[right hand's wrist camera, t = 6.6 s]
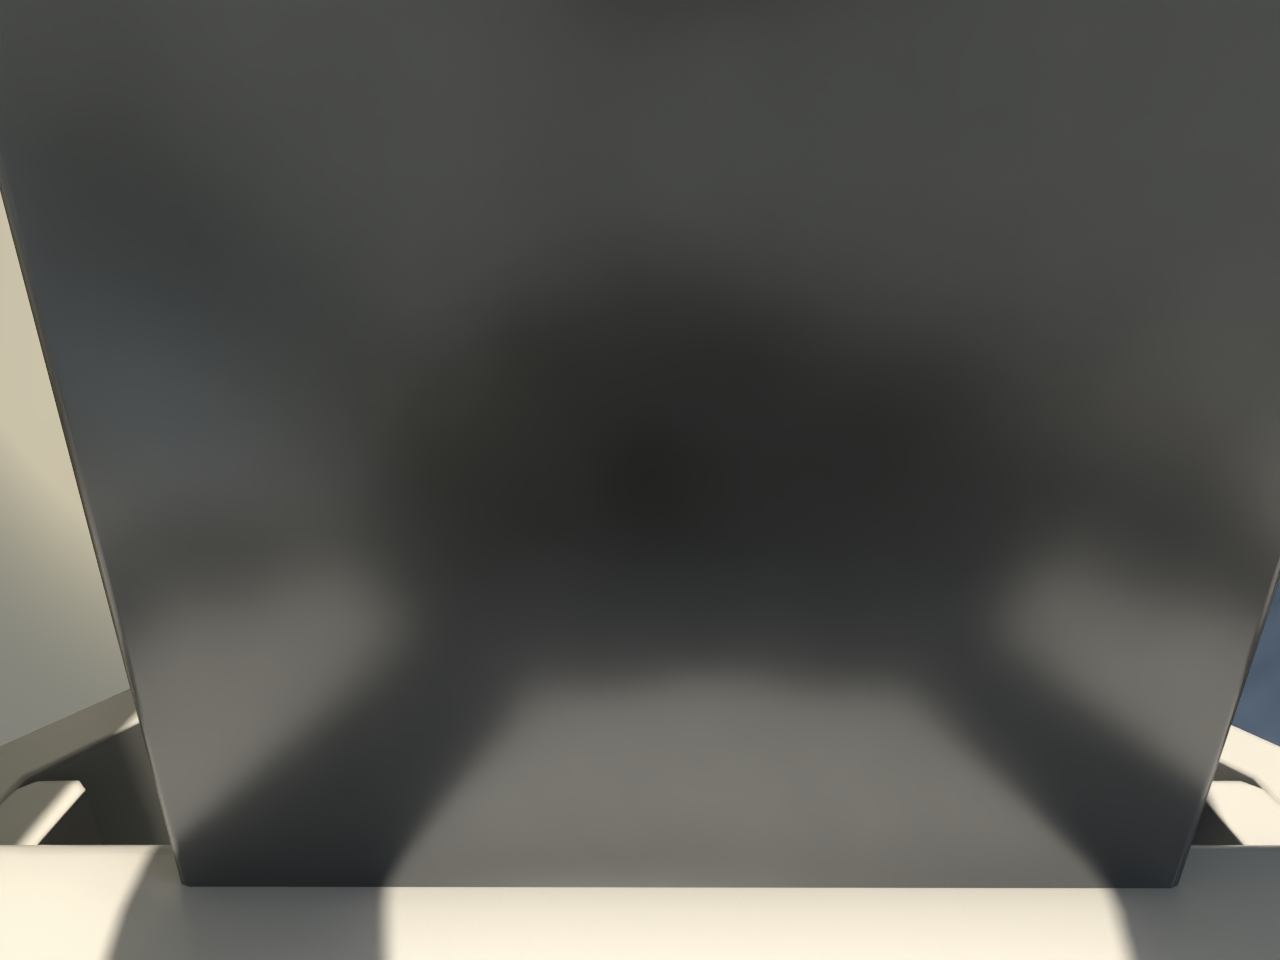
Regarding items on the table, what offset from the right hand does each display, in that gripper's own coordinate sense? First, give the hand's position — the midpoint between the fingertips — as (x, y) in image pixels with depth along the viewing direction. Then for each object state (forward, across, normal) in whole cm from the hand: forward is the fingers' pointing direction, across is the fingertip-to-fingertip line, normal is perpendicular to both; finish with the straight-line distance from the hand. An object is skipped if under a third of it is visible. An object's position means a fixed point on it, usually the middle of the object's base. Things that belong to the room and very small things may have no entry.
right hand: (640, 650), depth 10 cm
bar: (+4, 0, +7) cm, 8 cm away
